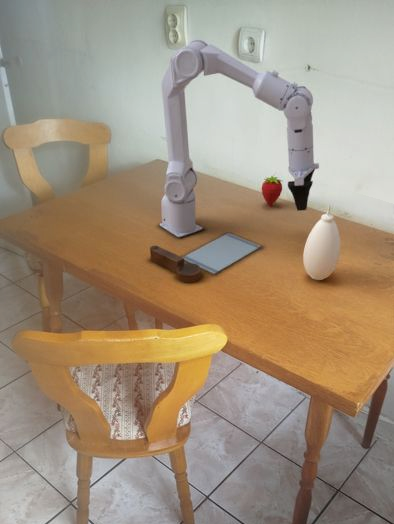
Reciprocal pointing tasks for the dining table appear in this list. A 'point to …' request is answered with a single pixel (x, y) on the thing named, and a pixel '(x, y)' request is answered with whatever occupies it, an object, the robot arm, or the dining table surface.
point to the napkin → (221, 253)
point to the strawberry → (271, 189)
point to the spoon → (175, 264)
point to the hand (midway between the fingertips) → (303, 203)
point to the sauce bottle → (322, 248)
